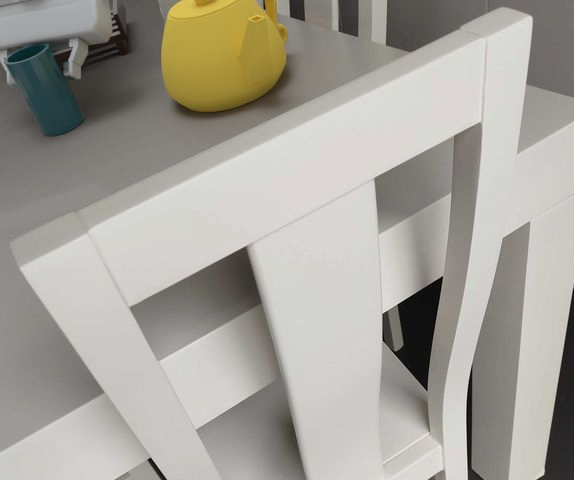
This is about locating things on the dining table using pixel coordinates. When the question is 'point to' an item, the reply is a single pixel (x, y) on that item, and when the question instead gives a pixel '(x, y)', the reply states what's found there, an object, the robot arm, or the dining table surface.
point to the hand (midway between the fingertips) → (43, 82)
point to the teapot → (221, 52)
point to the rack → (117, 36)
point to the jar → (166, 7)
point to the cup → (44, 88)
